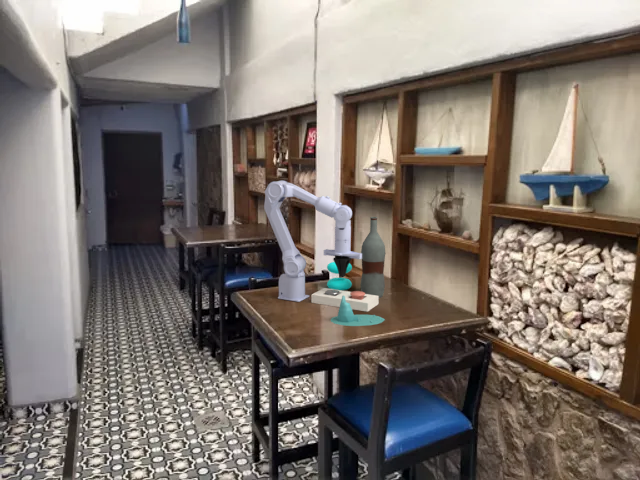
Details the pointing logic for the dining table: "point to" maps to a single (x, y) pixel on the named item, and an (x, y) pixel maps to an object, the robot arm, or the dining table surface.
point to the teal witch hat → (353, 316)
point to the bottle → (373, 262)
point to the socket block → (355, 304)
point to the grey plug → (332, 292)
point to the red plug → (357, 295)
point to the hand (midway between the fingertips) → (342, 276)
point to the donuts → (338, 282)
